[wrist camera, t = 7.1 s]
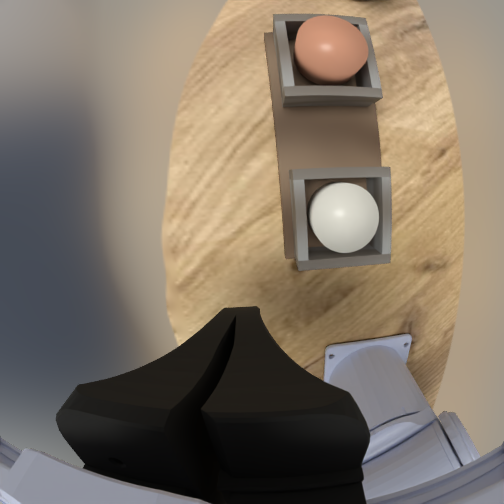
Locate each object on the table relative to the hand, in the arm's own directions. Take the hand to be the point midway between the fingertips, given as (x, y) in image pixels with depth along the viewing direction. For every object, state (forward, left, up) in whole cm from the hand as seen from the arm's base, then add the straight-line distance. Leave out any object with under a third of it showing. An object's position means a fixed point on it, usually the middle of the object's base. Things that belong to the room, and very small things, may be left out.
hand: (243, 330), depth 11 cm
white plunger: (+3, -6, -9) cm, 11 cm away
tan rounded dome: (+13, -6, -8) cm, 16 cm away
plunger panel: (+8, -6, -10) cm, 14 cm away
